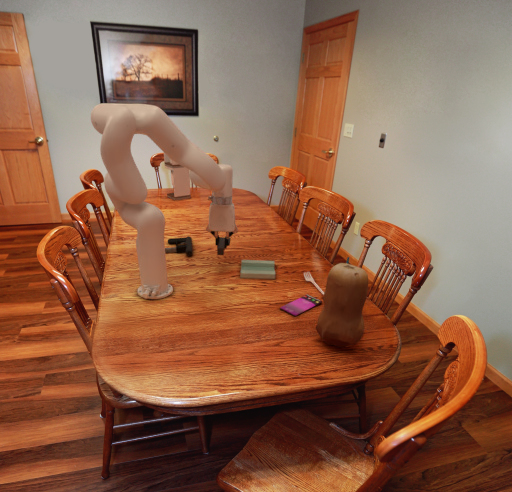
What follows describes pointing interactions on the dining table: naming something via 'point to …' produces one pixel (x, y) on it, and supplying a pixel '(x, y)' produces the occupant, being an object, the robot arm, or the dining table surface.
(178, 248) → the submachine gun
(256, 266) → the spoon rest
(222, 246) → the spatula
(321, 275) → the dining table surface
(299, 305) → the smartphone
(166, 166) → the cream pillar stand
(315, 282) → the fork
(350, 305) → the butternut squash
